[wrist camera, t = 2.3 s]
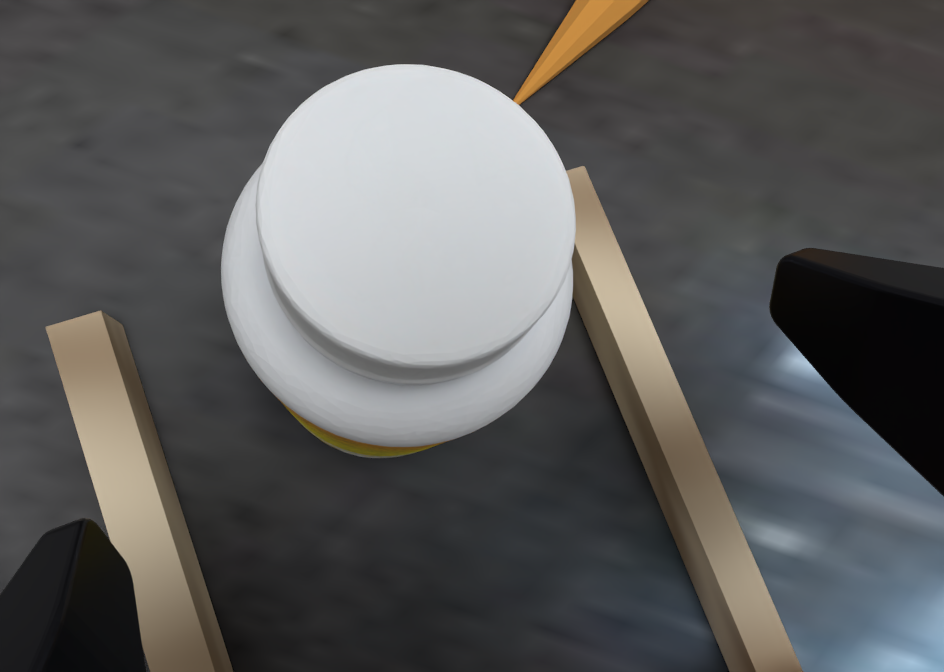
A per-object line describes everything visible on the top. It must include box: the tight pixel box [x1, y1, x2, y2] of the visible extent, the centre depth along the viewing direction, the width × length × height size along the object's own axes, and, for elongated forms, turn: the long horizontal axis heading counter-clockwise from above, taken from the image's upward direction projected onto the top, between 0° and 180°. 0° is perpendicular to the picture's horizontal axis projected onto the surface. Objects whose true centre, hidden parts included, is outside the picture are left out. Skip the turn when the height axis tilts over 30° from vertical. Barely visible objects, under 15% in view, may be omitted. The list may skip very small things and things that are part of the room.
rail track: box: [46, 166, 803, 672], centre depth 15 cm, size 18×14×4 cm
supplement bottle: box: [221, 64, 576, 458], centre depth 13 cm, size 6×6×10 cm
